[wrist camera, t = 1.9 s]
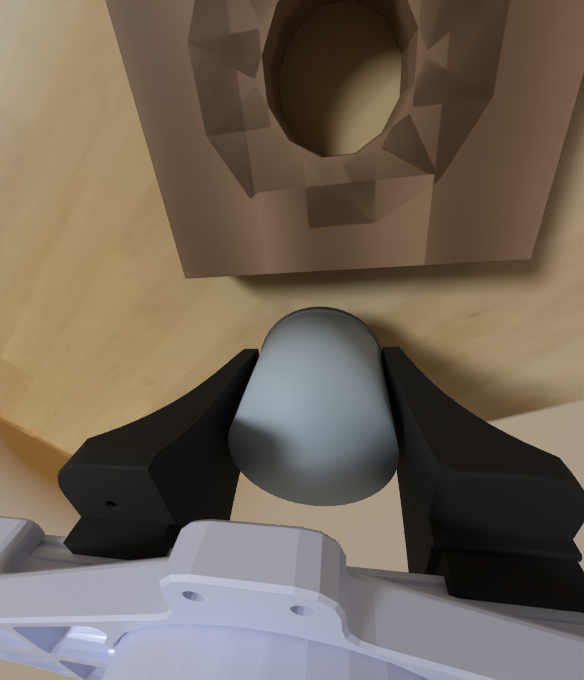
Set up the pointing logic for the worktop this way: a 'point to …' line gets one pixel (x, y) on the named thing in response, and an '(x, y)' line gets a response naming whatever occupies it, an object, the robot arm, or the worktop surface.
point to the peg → (317, 412)
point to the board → (371, 160)
